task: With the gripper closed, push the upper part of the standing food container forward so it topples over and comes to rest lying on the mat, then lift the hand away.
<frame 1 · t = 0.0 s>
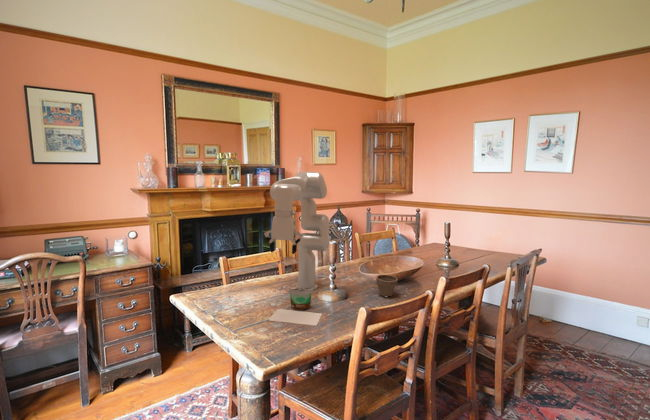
hand: (283, 252, 158), 31 cm above the table, tool pointing down, fingers open, 9 cm apart
mat: (295, 317, 165), on the table
flower pot: (386, 295, 196), on the table
food container: (301, 309, 175), on the table
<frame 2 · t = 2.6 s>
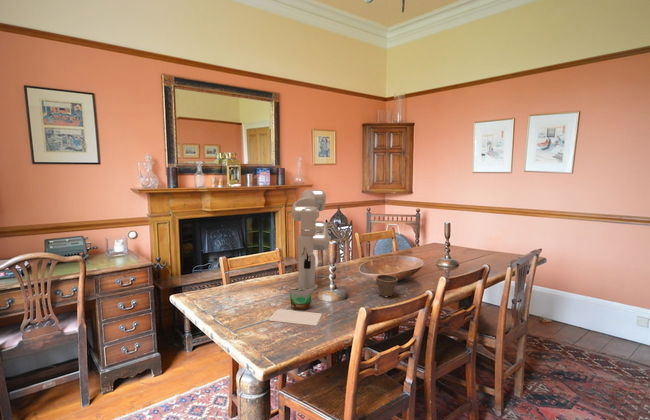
hand: (307, 268, 183), 18 cm above the table, tool pointing down, fingers closed
nothing on the table moved.
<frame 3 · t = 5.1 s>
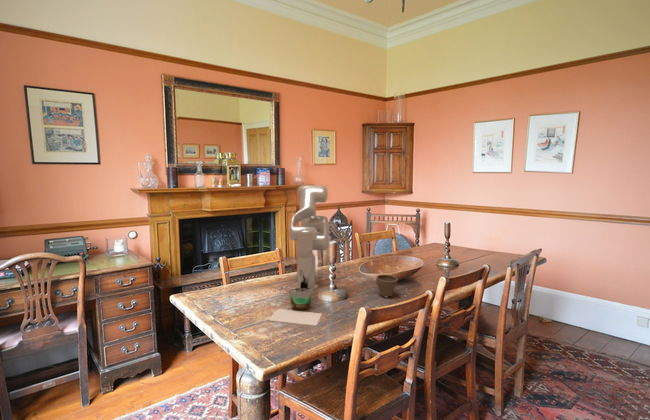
hand: (304, 290, 178), 8 cm above the table, tool pointing down, fingers closed
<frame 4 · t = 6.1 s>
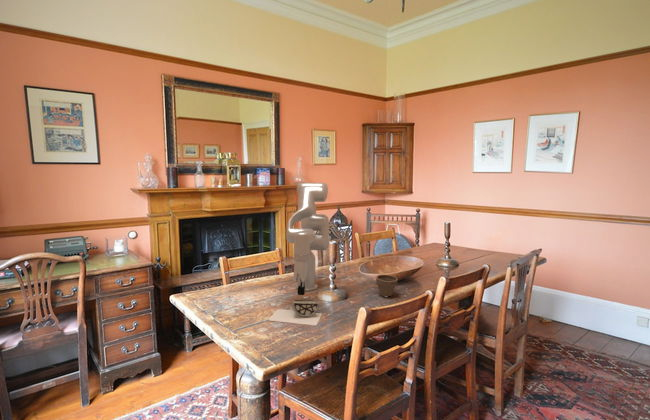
hand: (301, 294, 173), 8 cm above the table, tool pointing down, fingers closed
food container: (302, 306, 174), point 2 cm above the table, touching mat
everything else where it was.
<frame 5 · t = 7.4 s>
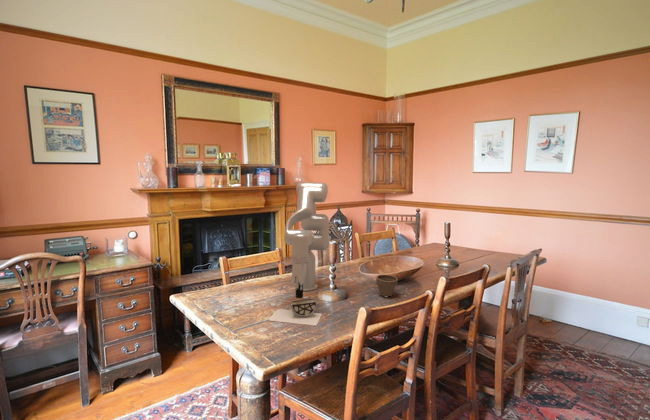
hand: (299, 297, 170), 8 cm above the table, tool pointing down, fingers closed
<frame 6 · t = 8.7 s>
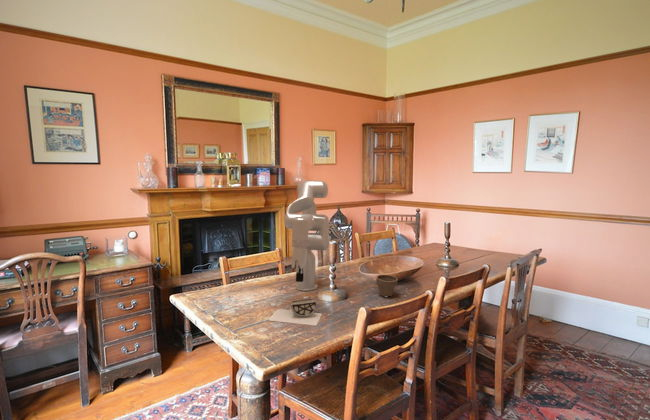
hand: (299, 281, 169), 15 cm above the table, tool pointing down, fingers closed
nothing on the table moved.
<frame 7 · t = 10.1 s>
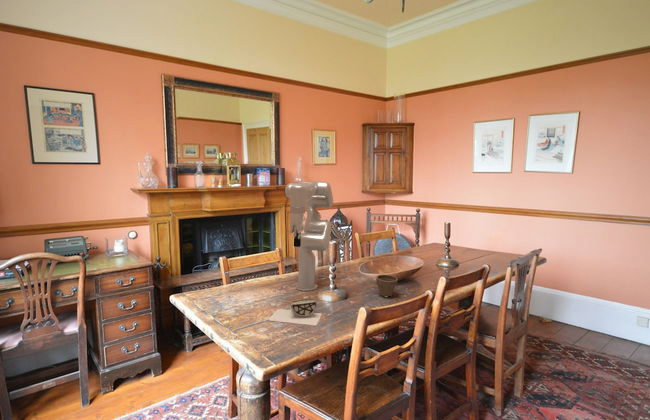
hand: (297, 246, 180), 29 cm above the table, tool pointing down, fingers closed
nothing on the table moved.
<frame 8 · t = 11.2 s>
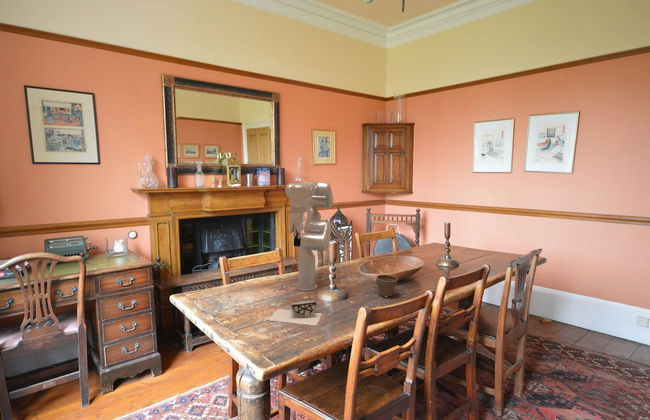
hand: (297, 246, 180), 29 cm above the table, tool pointing down, fingers closed
nothing on the table moved.
at the end: food container tilted 79°; food container touching mat, table; food container inside the target area (2.8 cm from its centre), point 1.8 cm above the table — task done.
